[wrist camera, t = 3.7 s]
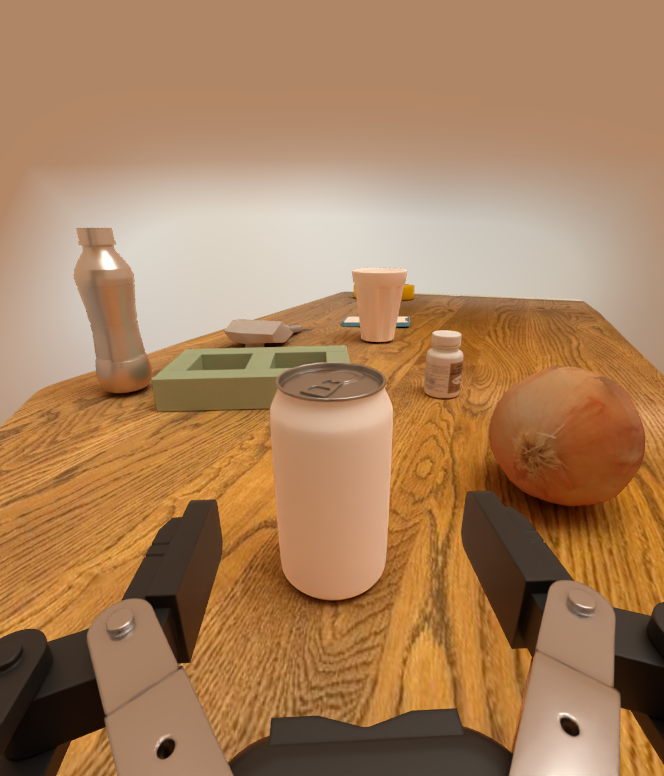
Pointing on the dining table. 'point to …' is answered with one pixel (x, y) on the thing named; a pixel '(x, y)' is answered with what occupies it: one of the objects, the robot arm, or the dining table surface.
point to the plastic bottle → (111, 312)
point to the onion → (568, 436)
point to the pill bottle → (444, 365)
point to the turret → (259, 332)
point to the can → (332, 476)
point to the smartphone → (354, 321)
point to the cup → (378, 301)
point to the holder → (232, 376)
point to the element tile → (406, 295)
